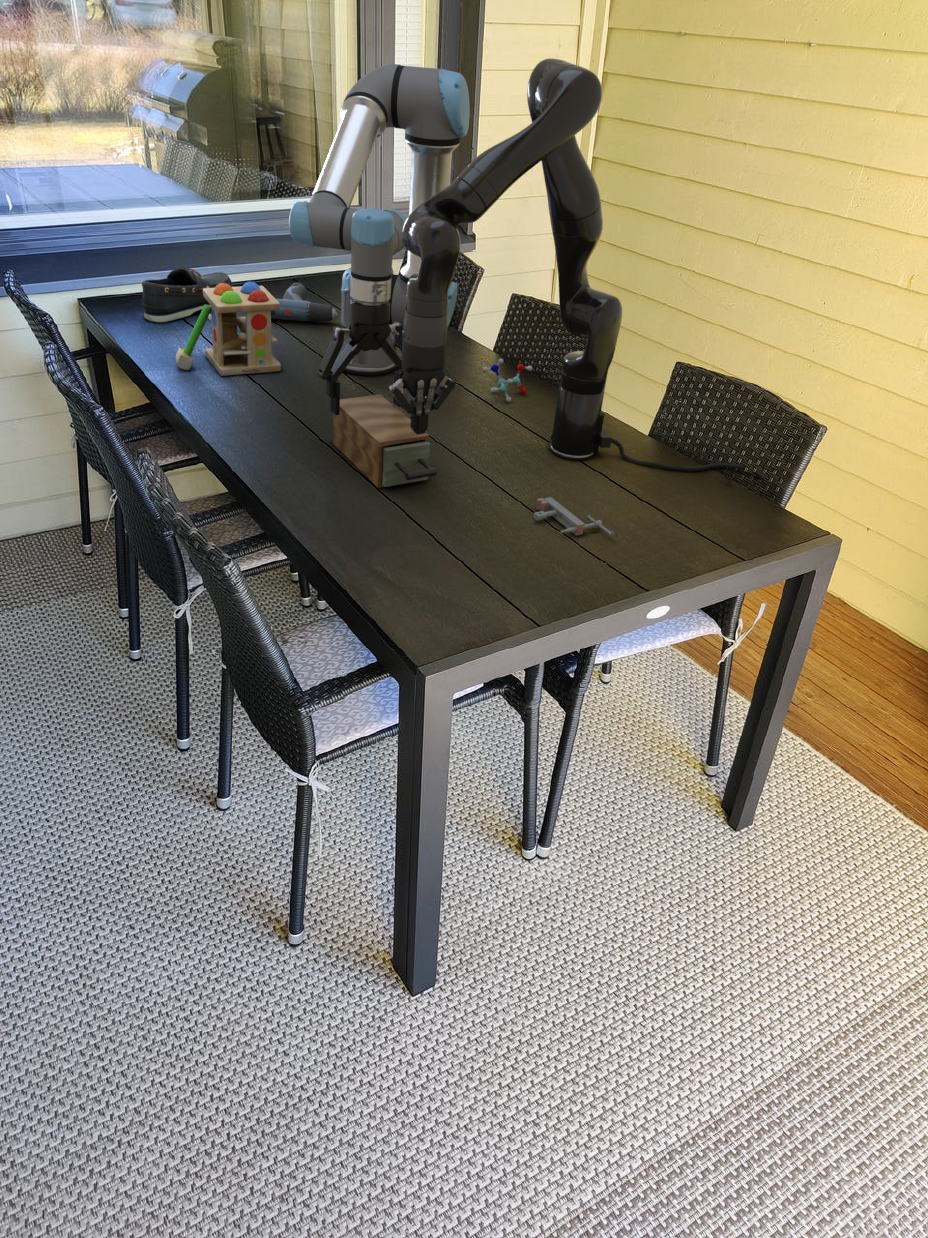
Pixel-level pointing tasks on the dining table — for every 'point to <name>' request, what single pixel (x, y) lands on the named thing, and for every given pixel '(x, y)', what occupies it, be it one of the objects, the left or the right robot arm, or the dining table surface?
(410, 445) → the drawer
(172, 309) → the boat shoe
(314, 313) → the power drill
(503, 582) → the dining table surface
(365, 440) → the cabinet
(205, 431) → the dining table surface
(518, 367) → the molecular model
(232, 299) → the pounding bench toy
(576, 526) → the clamp
